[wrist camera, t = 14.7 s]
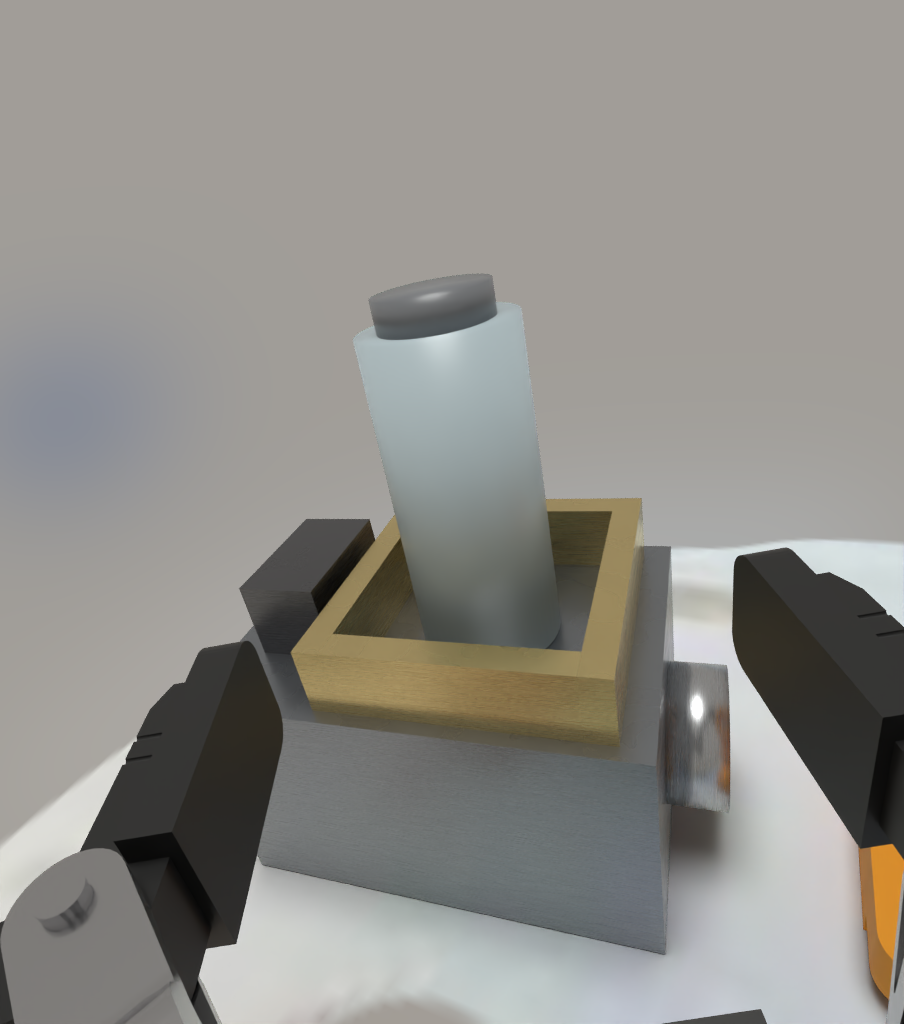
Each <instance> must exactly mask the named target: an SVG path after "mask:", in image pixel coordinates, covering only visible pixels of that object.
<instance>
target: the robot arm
mask: <svg viewBox="0 0 904 1024" xmlns="http://www.w3.org/2000/svg"><path fill="white" fill-rule="evenodd" d="M732 635H733V642H734V647H735V651H736V654H737V657H738V660H739V662H740V664H741V666H742V668H743V670H744V672H745V673H746V675H747V676H748V678H749V679H750V681H751V683H752V684H753V686H754V687H755V689H756V690H757V692H758V693H759V695H760V696H761V698H762V699H763V701H764V702H765V704H766V705H767V707H768V709H769V710H770V712H771V713H772V715H773V716H774V718H775V719H776V721H777V722H778V724H779V725H780V727H781V728H782V730H783V731H784V733H785V734H786V736H787V738H788V739H789V741H790V742H791V744H792V745H793V747H794V748H795V750H796V751H797V753H798V754H799V756H800V757H801V759H802V760H803V762H804V764H805V765H806V767H807V768H808V770H809V771H810V773H811V774H812V776H813V777H814V779H815V780H816V782H817V783H818V785H819V786H820V788H821V790H822V791H823V793H824V794H825V796H826V797H827V799H828V800H829V802H830V803H831V805H832V806H833V808H834V809H835V811H836V812H837V814H838V816H839V817H840V819H841V820H842V822H843V823H844V825H845V826H846V828H847V829H848V831H849V832H850V834H851V835H852V837H853V838H854V840H855V842H856V843H857V845H858V846H859V848H860V849H863V848H869V847H876V846H882V845H888V844H893V845H894V847H895V848H896V850H897V851H898V852H899V854H900V855H901V857H902V858H903V859H904V627H903V626H902V625H901V624H900V623H899V622H898V621H897V620H896V619H895V618H894V617H892V616H891V615H887V613H886V610H885V609H884V608H883V607H882V606H881V605H880V604H879V603H878V602H876V601H875V600H874V599H873V598H872V597H871V596H870V595H869V594H868V593H867V592H866V591H865V590H864V589H862V588H860V587H858V586H856V585H854V584H852V583H850V582H848V581H846V580H844V579H842V578H840V577H838V576H836V575H834V574H832V573H830V572H828V573H822V574H817V575H816V574H815V573H814V572H813V571H812V570H811V569H810V568H809V567H808V566H807V565H806V564H805V563H804V562H803V561H802V560H801V559H800V558H799V557H798V556H797V555H796V553H795V552H793V551H792V550H791V549H789V548H780V549H775V550H769V551H763V552H758V553H752V554H746V555H740V556H738V557H737V558H736V560H735V564H734V580H733V620H732ZM282 744H283V722H282V716H281V712H280V708H279V705H278V703H277V700H276V698H275V696H274V693H273V691H272V688H271V686H270V683H269V681H268V678H267V676H266V673H265V671H264V668H263V666H262V663H261V661H260V658H259V656H258V653H257V651H256V649H255V647H254V645H253V644H252V643H251V642H250V641H242V642H237V643H231V644H225V645H219V646H214V647H208V648H204V649H202V650H201V651H200V652H199V653H198V655H197V657H196V659H195V662H194V664H193V666H192V668H191V671H190V673H189V675H188V677H187V679H186V682H185V683H179V684H174V685H173V686H172V687H171V688H170V689H169V690H168V691H167V692H166V693H165V694H164V695H163V696H162V697H161V698H160V700H159V701H158V702H157V703H156V704H155V705H154V706H153V707H152V708H151V709H150V711H149V713H148V715H147V717H146V719H145V721H144V723H143V725H142V727H141V729H140V731H139V733H138V735H137V742H134V743H133V745H132V747H131V749H130V751H129V753H128V755H127V757H126V765H122V767H121V769H120V771H119V773H118V775H117V777H116V779H115V781H114V783H113V785H112V787H111V789H110V791H109V793H108V795H107V798H106V800H105V802H104V804H103V806H102V808H101V810H100V812H99V814H98V816H97V818H96V820H95V822H94V824H93V826H92V828H91V830H90V832H89V834H88V836H87V838H86V840H85V842H84V844H83V846H82V848H81V850H80V852H78V853H75V854H73V855H71V856H69V857H67V858H64V859H63V860H61V861H59V862H58V863H56V864H54V865H53V866H51V867H50V868H49V869H47V870H46V871H44V872H43V873H42V874H41V875H40V876H39V877H37V878H36V879H35V880H34V881H33V882H32V883H31V884H30V885H29V886H28V887H27V888H26V889H25V890H24V892H23V893H22V894H21V895H20V896H19V898H18V899H17V900H16V902H15V903H14V905H13V906H12V908H11V910H10V911H9V913H8V915H7V917H6V919H5V921H3V922H1V923H0V1024H222V1023H221V1021H220V1019H219V1016H218V1014H217V1012H216V1010H215V1008H214V1006H213V1003H212V1001H211V999H210V997H209V995H208V992H207V990H206V988H205V986H204V984H203V982H202V981H201V979H200V977H199V973H200V969H201V965H202V961H203V958H204V954H205V950H206V949H207V948H213V947H219V946H226V945H232V944H236V942H237V938H238V934H239V930H240V925H241V921H242V917H243V912H244V908H245V904H246V899H247V895H248V891H249V887H250V882H251V878H252V874H253V869H254V865H255V861H256V857H257V852H258V848H259V844H260V839H261V835H262V831H263V827H264V822H265V818H266V814H267V809H268V805H269V801H270V797H271V792H272V788H273V784H274V779H275V775H276V771H277V767H278V762H279V758H280V754H281V749H282ZM664 1024H767V1023H766V1020H765V1018H764V1015H763V1013H762V1011H761V1009H758V1010H752V1011H745V1012H738V1013H731V1014H725V1015H718V1016H711V1017H704V1018H698V1019H691V1020H684V1021H677V1022H671V1023H664ZM886 1024H904V871H903V875H902V884H901V893H900V902H899V912H898V921H897V930H896V940H895V949H894V958H893V968H892V977H891V986H890V996H889V1005H888V1012H887V1020H886Z"/></svg>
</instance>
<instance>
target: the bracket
mask: <svg viewBox="0 0 904 1024" xmlns="http://www.w3.org/2000/svg"><path fill="white" fill-rule="evenodd" d="M858 848H859V846H858ZM859 864H860V880H861V896H862V913H863V929H864V930H866V931H867V936H868V951H869V966H870V971H871V975H872V977H873V980H874V982H875V983H876V985H877V987H878V988H879V990H880V991H881V992H882V993H883V994H884V996H885V997H886V998H887V999H888V1000H889V996H890V986H891V977H892V968H893V958H894V949H895V940H896V930H897V921H898V912H899V902H900V893H901V884H902V875H903V871H904V859H903V858H902V857H901V855H900V854H899V852H898V851H897V850H896V848H895V847H894V845H893V844H888V845H882V846H876V847H869V848H863V849H860V848H859Z"/></svg>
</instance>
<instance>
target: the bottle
mask: <svg viewBox="0 0 904 1024" xmlns="http://www.w3.org/2000/svg"><path fill="white" fill-rule="evenodd" d="M369 305H370V309H371V314H372V317H373V322H374V326H372V327H370V328H367V329H365V330H364V331H362V332H360V333H358V334H357V335H356V336H355V337H354V338H353V343H354V348H355V351H356V356H357V360H358V364H359V368H360V372H361V376H362V380H363V385H364V388H365V393H366V397H367V401H368V405H369V409H370V413H371V418H372V421H373V426H374V430H375V434H376V438H377V442H378V446H379V450H380V455H381V459H382V463H383V467H384V471H385V475H386V479H387V483H388V487H389V492H390V496H391V500H392V504H393V508H394V512H395V516H396V520H397V524H398V529H399V533H400V537H401V541H402V545H403V549H404V553H405V557H406V562H407V566H408V570H409V574H410V578H411V582H412V586H413V590H414V594H415V599H416V603H417V607H418V611H419V615H420V619H421V623H422V627H423V631H424V636H425V640H426V641H439V642H453V643H467V644H481V645H495V646H509V647H523V648H537V649H546V648H547V647H548V646H549V645H550V644H551V643H552V642H553V640H554V639H555V638H556V636H557V634H558V632H559V629H560V624H561V617H560V609H559V601H558V593H557V585H556V577H555V569H554V561H553V553H552V545H551V538H550V530H549V522H548V514H547V506H546V498H545V490H544V482H543V474H542V466H541V459H540V452H539V443H538V435H537V427H536V420H535V412H534V403H533V395H532V388H531V380H530V373H529V364H528V356H527V348H526V340H525V332H524V324H523V317H522V309H521V307H520V306H519V305H517V304H514V303H507V302H496V299H495V292H494V285H493V278H492V275H489V274H465V275H456V276H449V277H442V278H436V279H432V280H426V281H421V282H416V283H412V284H408V285H404V286H400V287H397V288H393V289H390V290H387V291H384V292H381V293H379V294H376V295H374V296H372V297H371V298H370V299H369Z"/></svg>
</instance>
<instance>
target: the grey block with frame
mask: <svg viewBox="0 0 904 1024" xmlns="http://www.w3.org/2000/svg"><path fill="white" fill-rule="evenodd" d="M546 506H547V514H548V522H549V530H550V538H551V545H552V553H553V561H554V569H555V577H556V585H557V593H558V601H559V609H560V617H561V624H560V629H559V632H558V634H557V636H556V638H555V639H554V640H553V642H552V643H551V644H550V645H549V646H548V647H547V648H546V649H537V648H523V647H509V646H495V645H481V644H467V643H453V642H439V641H426V640H425V636H424V631H423V627H422V623H421V619H420V615H419V611H418V607H417V603H416V599H415V594H414V590H413V586H412V582H411V578H410V574H409V570H408V566H407V562H406V557H405V553H404V549H403V545H402V541H401V537H400V533H399V529H398V524H397V520H396V516H395V515H394V516H393V518H392V519H391V520H390V522H389V523H388V524H387V526H386V527H385V528H384V530H383V531H382V532H381V534H380V535H379V536H378V537H377V539H376V540H375V538H374V534H373V530H372V527H371V523H370V520H369V519H306V520H305V521H304V522H303V523H302V524H301V525H300V526H299V527H298V528H297V529H296V530H295V531H294V533H293V534H292V535H291V536H290V537H289V538H288V539H287V540H286V541H285V542H284V543H283V544H282V545H281V546H280V547H279V548H278V549H277V550H276V551H275V552H274V553H273V555H271V557H269V558H268V559H267V560H266V562H265V563H264V564H263V565H262V566H261V567H260V568H259V569H258V570H257V571H256V572H255V573H254V574H253V575H252V576H251V577H250V578H249V579H248V580H247V581H246V582H245V583H244V584H243V585H242V586H241V587H240V592H241V594H242V597H243V599H244V601H245V604H246V607H247V609H248V612H249V614H250V617H251V619H252V622H253V624H254V626H253V627H252V628H251V629H250V630H249V632H248V633H247V634H246V635H245V636H244V637H243V638H242V640H241V641H240V642H242V641H250V642H251V643H252V644H253V645H254V647H255V649H256V651H257V653H258V656H259V658H260V661H261V663H262V666H263V668H264V671H265V673H266V676H267V678H268V681H269V683H270V686H271V688H272V691H273V693H274V696H275V698H276V700H277V703H278V705H279V708H280V712H281V716H282V722H283V744H282V749H281V754H280V758H279V762H278V767H277V771H276V775H275V779H274V784H273V788H272V792H271V797H270V801H269V805H268V809H267V814H266V818H265V822H264V827H263V831H262V835H261V839H260V844H259V848H258V852H257V855H258V857H259V859H260V861H261V863H262V865H266V866H271V867H275V868H280V869H284V870H289V871H293V872H298V873H302V874H307V875H311V876H316V877H320V878H325V879H329V880H334V881H338V882H343V883H347V884H352V885H356V886H361V887H365V888H370V889H374V890H379V891H383V892H388V893H392V894H397V895H401V896H406V897H410V898H414V899H419V900H423V901H428V902H432V903H437V904H441V905H446V906H450V907H455V908H459V909H464V910H468V911H473V912H477V913H482V914H486V915H491V916H495V917H500V918H504V919H509V920H513V921H518V922H522V923H527V924H531V925H536V926H540V927H545V928H549V929H554V930H558V931H563V932H567V933H572V934H576V935H580V936H585V937H589V938H594V939H598V940H603V941H607V942H612V943H616V944H621V945H625V946H630V947H634V948H639V949H643V950H648V951H652V952H657V953H661V954H665V950H666V926H667V901H668V877H669V852H670V828H671V805H678V806H685V807H692V808H699V809H706V810H713V811H719V812H726V813H729V805H730V714H729V685H728V670H727V665H718V664H705V663H691V662H677V661H674V643H673V607H672V571H671V547H666V546H665V547H664V546H644V539H643V517H642V499H641V498H625V499H622V498H621V499H546Z"/></svg>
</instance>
